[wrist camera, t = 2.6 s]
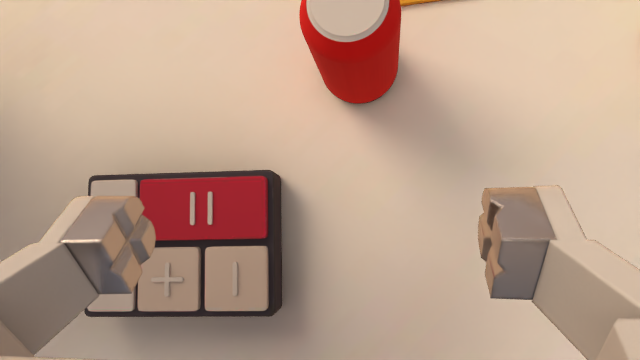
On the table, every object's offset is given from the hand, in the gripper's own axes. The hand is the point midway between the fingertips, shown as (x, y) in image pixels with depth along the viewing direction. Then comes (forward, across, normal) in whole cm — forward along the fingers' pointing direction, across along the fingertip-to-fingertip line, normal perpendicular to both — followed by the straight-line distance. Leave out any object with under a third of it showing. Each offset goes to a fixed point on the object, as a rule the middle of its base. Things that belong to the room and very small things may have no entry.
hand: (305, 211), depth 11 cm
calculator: (+17, +14, +20) cm, 30 cm away
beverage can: (+27, 0, +10) cm, 29 cm away
